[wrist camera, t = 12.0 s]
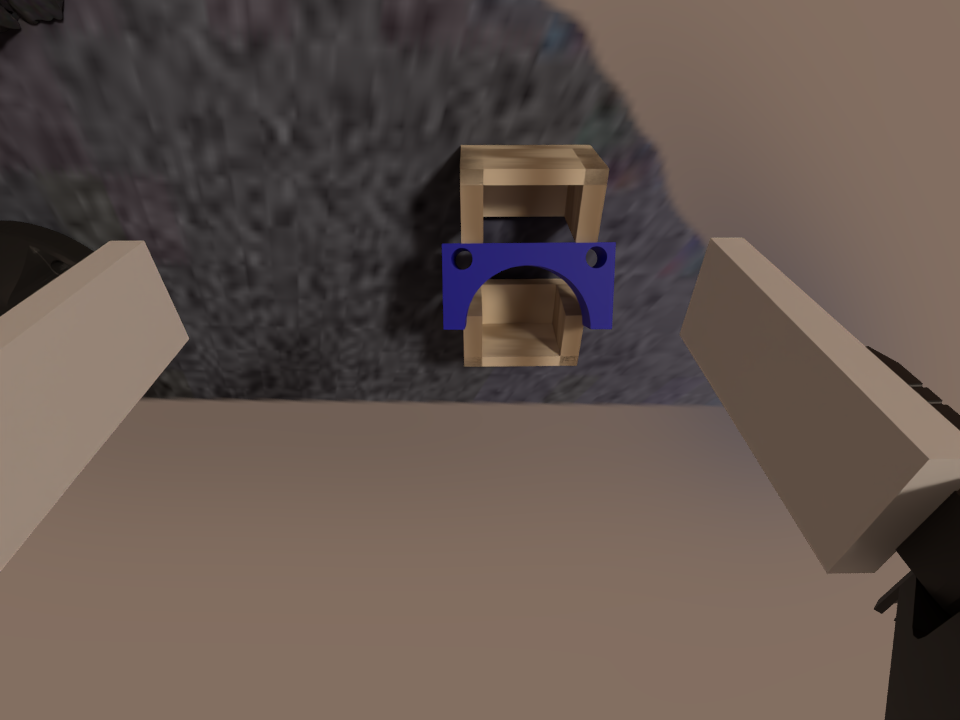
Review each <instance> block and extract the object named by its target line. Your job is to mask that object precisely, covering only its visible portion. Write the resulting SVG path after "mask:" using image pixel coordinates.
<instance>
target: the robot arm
mask: <svg viewBox="0 0 960 720" xmlns="http://www.w3.org/2000/svg"><path fill="white" fill-rule="evenodd" d="M680 336H681V338H682V339H683V341H684V343H685V344H686V346H687V348H688V349H689V351H690V352H691V354H692V356H693V357H694V359H695V361H696V362H697V364H698V365H699V367H700V369H701V370H702V372H703V373H704V375H705V377H706V378H707V380H708V382H709V383H710V385H711V386H712V388H713V390H714V391H715V393H716V395H717V396H718V398H719V399H720V401H721V403H722V404H723V406H724V407H725V409H726V411H727V412H728V414H729V416H730V417H731V419H732V420H733V422H734V424H735V425H736V427H737V429H738V430H739V432H740V433H741V435H742V437H743V438H744V440H745V441H746V442H747V445H748V446H749V448H750V450H751V451H752V453H753V454H754V456H755V458H756V459H757V461H758V462H759V464H760V466H761V467H762V469H763V471H764V472H765V474H766V475H767V477H768V479H769V480H770V482H771V483H772V485H773V487H774V488H775V490H776V491H777V493H778V495H779V496H780V498H781V500H782V501H783V503H784V504H785V506H786V508H787V509H788V511H789V513H790V514H791V516H792V518H793V519H794V521H795V522H796V524H797V526H798V527H799V529H800V530H801V532H802V534H803V535H804V537H805V539H806V540H807V542H808V543H809V545H810V547H811V548H812V550H813V551H814V553H815V554H816V556H817V558H818V560H819V561H820V563H821V565H822V566H823V568H824V569H825V571H826V572H827V573H875V572H876V571H877V570H878V569H879V568H880V567H881V566H882V565H883V564H884V563H885V562H886V561H887V560H888V559H889V558H890V557H891V556H892V555H893V554H894V553H895V552H896V551H897V552H898V554H899V555H900V556H901V558H902V559H903V560H904V561H905V563H906V564H907V565H908V567H909V568H910V569H911V571H910V572H909V573H908V574H907V575H906V576H904V577H903V578H902V579H901V580H900V581H899V582H898V583H897V584H895V585H894V586H893V587H892V588H891V589H890V590H889V591H888V592H887V593H886V594H884V595H883V596H882V597H881V598H880V599H879V600H878V602H877V604H876V606H875V607H874V610H876V611H878V612H880V613H881V614H882V613H883V612H885V611H886V610H887V609H888V608H889V607H890V606H891V605H893V604H894V603H898V605H897V614H896V618H895V619H894V621H896V623H895V632H894V641H893V650H892V659H891V668H890V677H889V686H888V695H887V704H886V713H885V720H960V415H959V414H958V413H956V412H955V411H954V410H953V409H952V408H951V407H949V406H948V405H943V404H942V400H941V399H940V398H939V397H938V396H937V395H935V394H934V393H933V392H932V391H931V390H930V389H929V388H927V387H926V388H923V387H922V383H921V382H920V381H919V380H918V379H917V378H916V377H914V376H913V375H912V374H911V373H910V372H909V371H908V370H906V369H905V368H904V367H903V366H902V365H900V364H899V363H898V362H896V361H894V360H892V359H890V358H889V357H887V356H885V355H883V354H881V353H880V352H878V351H876V350H874V349H872V348H870V347H869V346H864V345H863V344H862V343H861V342H859V341H858V340H857V339H856V338H855V337H854V336H853V335H852V334H850V333H849V332H848V331H847V330H846V329H845V328H844V327H843V326H841V325H840V324H839V323H838V322H837V321H836V320H835V319H834V318H832V317H831V316H830V315H829V314H828V313H827V312H826V311H825V310H824V309H822V308H821V307H820V306H819V305H818V304H817V303H816V302H815V301H813V300H812V299H811V298H810V297H809V296H808V295H807V294H806V293H804V292H803V291H802V290H801V289H800V288H799V287H798V286H797V285H795V284H794V283H793V282H792V281H791V280H790V279H789V278H788V277H786V276H785V275H784V274H783V273H782V272H781V271H780V270H779V269H777V268H776V267H775V266H774V265H773V264H772V263H771V262H769V261H768V260H767V259H766V258H765V257H764V256H763V255H762V254H761V253H759V252H758V251H757V250H756V249H755V248H754V247H753V246H752V245H750V244H749V243H748V242H747V241H746V240H745V239H744V238H710V241H709V244H708V247H707V250H706V254H705V257H704V260H703V263H702V266H701V269H700V272H699V275H698V279H697V282H696V285H695V288H694V291H693V294H692V297H691V300H690V303H689V307H688V310H687V313H686V316H685V319H684V322H683V325H682V328H681V332H680ZM188 340H189V337H188V335H187V333H186V331H185V328H184V326H183V324H182V322H181V320H180V318H179V315H178V313H177V311H176V309H175V307H174V305H173V302H172V300H171V298H170V296H169V294H168V292H167V289H166V287H165V285H164V283H163V281H162V279H161V276H160V274H159V272H158V270H157V268H156V266H155V264H154V261H153V259H152V257H151V255H150V253H149V251H148V248H147V246H146V244H145V242H144V241H109V242H108V243H106V244H105V245H104V246H102V247H101V248H99V249H98V250H96V251H95V252H93V251H92V250H91V249H89V248H87V247H86V246H84V245H82V244H81V243H79V242H77V241H75V240H73V239H71V238H69V237H67V236H65V235H63V234H60V233H58V232H56V231H53V230H50V229H47V228H44V227H41V226H37V225H34V224H29V223H24V222H17V221H0V571H1V570H2V569H3V567H4V566H5V565H6V564H7V563H8V561H9V560H10V559H11V558H12V556H13V555H14V554H15V553H16V552H17V550H18V549H19V548H20V547H21V545H22V544H23V543H24V542H25V540H26V539H27V538H28V537H29V535H30V534H31V533H32V532H33V531H34V529H35V528H36V527H37V526H38V524H39V523H40V522H41V521H42V520H43V518H44V517H45V516H46V515H47V513H48V512H49V511H50V510H51V508H52V507H53V506H54V504H56V502H57V501H58V500H59V499H60V497H61V496H62V495H63V493H64V492H65V491H66V490H67V489H68V488H69V486H70V485H71V484H72V483H73V481H74V480H75V479H76V478H77V476H78V475H79V474H80V473H81V471H82V470H83V469H84V468H85V467H86V465H87V464H88V463H89V462H90V460H91V459H92V458H93V457H94V456H95V454H96V453H97V452H98V451H99V449H100V448H101V447H102V446H103V444H104V443H105V442H106V441H107V439H108V438H109V437H110V436H111V435H112V433H113V432H114V431H115V429H116V428H117V427H118V426H119V425H120V423H121V422H122V421H123V419H124V418H125V417H126V416H127V415H128V414H129V412H130V411H131V410H132V409H133V407H134V406H135V405H136V404H137V402H138V401H139V400H140V399H141V398H142V396H143V395H144V394H145V393H146V391H147V390H148V389H149V388H150V387H151V385H152V384H153V383H154V382H155V380H156V379H157V378H158V377H159V375H160V374H161V373H162V372H163V371H164V369H165V368H166V367H167V366H168V364H169V363H170V362H171V361H172V359H173V358H174V357H175V356H176V354H177V353H178V352H179V351H180V350H181V348H182V347H183V346H184V345H185V343H186V342H187V341H188Z"/></svg>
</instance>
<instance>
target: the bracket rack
mask: <svg viewBox="0 0 960 720" xmlns="http://www.w3.org/2000/svg"><path fill="white" fill-rule="evenodd" d="M608 174H609V168H608V167H607V165H606V164H605V163H604V162H603V160H602V159H601V158H600V157H599V155H598V154H597V153H596V152H595V150H594V149H593V148H592V147H591V145H461V156H460V200H461V243H483V217H545V216H564V217H565V219H566V222H567V224H568V226H569V229H570V231H571V233H572V236H573V238H574V240H575V243H595V242H597V240H598V234H599V228H600V222H601V216H602V210H603V204H604V198H605V192H606V186H607V180H608ZM463 331H464V367H476V366H577V361H578V355H579V349H580V343H581V337H582V331H583V325H582V312H581V308H580V305H579V302H578V300H577V298H576V296H575V294H574V292H573V291H572V289H571V288H570V287H569V285H568V284H567V283H566V282H565V281H564V280H563V279H488V280H487V281H486V282H485V283H484V284H483V285H482V286H481V287H480V288H479V289H478V291H477V292H476V293H475V295H474V297H473V299H472V301H471V303H470V306H469V310H468V314H467V324H466V327H465V330H463Z"/></svg>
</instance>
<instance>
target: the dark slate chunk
mask: <svg viewBox="0 0 960 720" xmlns="http://www.w3.org/2000/svg"><path fill="white" fill-rule="evenodd" d="M62 7H63V0H0V33H2V32H5V31H7V30H8V29H9V28H12V29H21V27H20V25H19V23H18V19H19V18H23V19H24V20H26V21H27V22H29V23H39V19H40V20H46V21H50V20H52V19H53V18H56V19H59V20H60V19H62V18H63V15H62ZM13 9H14V10H15V11H16V12H14V10H13ZM10 11H13V14H10Z"/></svg>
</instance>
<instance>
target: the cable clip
mask: <svg viewBox="0 0 960 720" xmlns="http://www.w3.org/2000/svg"><path fill="white" fill-rule="evenodd" d="M615 247H616V242H595V243H459V244H442V276H443V325H444V330H465V327H466V324H467V314H468V310H469V306H470V303H471V301H472V299H473V297H474V295H475V293H476V292H477V291H478V289H479V288H480V287H481V286H482V285H483V284H484V283H485V282H486V281H487V280H488V279H490V278H491V277H492V276H494V275H495V274H497V273H499V272H501V271H503V270H506V269H508V268H512V267H518V266H534V267H539V268H542V269H545V270H548V271H550V272H552V273H554V274H556V275H557V276H559V277H560V278H561V279H563V280H564V281H565V282H566V283H567V284H568V285H569V287H570V288H571V289H572V291H573V292H574V294H575V296H576V298H577V300H578V302H579V305H580V308H581V312H582V325H584V326H586V327H588V328H590V329H612V314H613V292H614V269H615ZM589 249H592V250H594V251H595V252H596V254H597V262H596V264H595V265H594V266H593V267H590V266H589V265H588V264H587V262H586V253H587V251H588V250H589ZM462 251H468V252H470V253H471V254H472V257H473V261H472V264H471V266H470V267H469V268H467V269H465V270H461V269H460V268H458V266H457V265H456V257H457V255H458V254H459V253H460V252H462Z"/></svg>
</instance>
